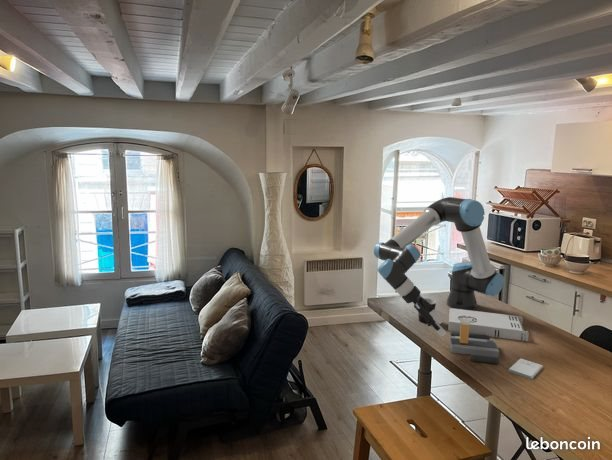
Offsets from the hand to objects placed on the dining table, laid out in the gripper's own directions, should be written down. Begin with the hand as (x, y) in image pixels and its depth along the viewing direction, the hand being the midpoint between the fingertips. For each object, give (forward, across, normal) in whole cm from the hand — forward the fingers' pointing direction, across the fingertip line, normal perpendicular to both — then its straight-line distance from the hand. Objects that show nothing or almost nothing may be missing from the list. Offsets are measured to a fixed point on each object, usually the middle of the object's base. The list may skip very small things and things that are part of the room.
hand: (442, 328), depth 184 cm
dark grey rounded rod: (+14, -11, +4) cm, 18 cm away
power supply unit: (+21, -25, +9) cm, 34 cm away
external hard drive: (+27, +14, +15) cm, 33 cm away
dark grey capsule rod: (+16, +11, +5) cm, 20 cm away
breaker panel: (+14, 0, +3) cm, 15 cm away
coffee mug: (+1, -29, -10) cm, 30 cm away
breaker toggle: (+9, 0, +3) cm, 10 cm away
